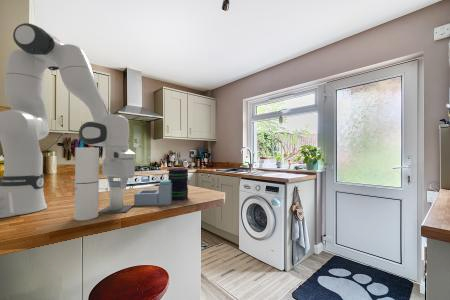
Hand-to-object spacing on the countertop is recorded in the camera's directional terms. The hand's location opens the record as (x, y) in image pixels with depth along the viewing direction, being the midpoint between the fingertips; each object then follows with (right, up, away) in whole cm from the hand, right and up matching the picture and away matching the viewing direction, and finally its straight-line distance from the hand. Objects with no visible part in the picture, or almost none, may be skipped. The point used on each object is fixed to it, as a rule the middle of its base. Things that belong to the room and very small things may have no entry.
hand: (117, 187), depth 84 cm
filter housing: (+11, -9, +12) cm, 19 cm away
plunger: (+17, -6, +10) cm, 21 cm away
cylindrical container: (-6, -9, -10) cm, 15 cm away
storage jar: (+20, -10, +21) cm, 31 cm away
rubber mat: (0, -9, 0) cm, 9 cm away
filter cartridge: (0, -8, 0) cm, 8 cm away
